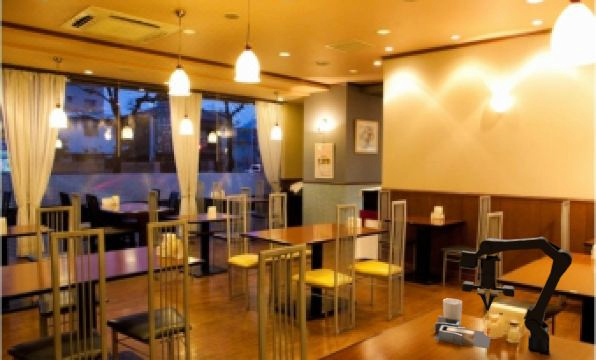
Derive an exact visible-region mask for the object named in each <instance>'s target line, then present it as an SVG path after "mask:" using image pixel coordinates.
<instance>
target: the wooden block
mask: <svg viewBox="0 0 596 360" xmlns="http://www.w3.org/2000/svg"><path fill="white" fill-rule="evenodd" d="M470 330H471V329H469V330H463V329H456V328H450V327H448V328H447V330H446V331H450V332H455V333H458V334H461V335H463V343H466V344H474V331H470Z"/></svg>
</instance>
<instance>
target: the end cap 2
mask: <svg viewBox="0 0 596 360" xmlns="http://www.w3.org/2000/svg"><path fill="white" fill-rule="evenodd" d="M448 327H450V328H456V329H463V330H465V329H466V327H465V326H460V327H453V326H446V325H441V327H440V329H439V340H438V342H445V343H449V344H454V345H457V346H461V347H463V346H464V345H463V335H461V334H458V333H455V332H450V331H446V330H447V328H448Z"/></svg>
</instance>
